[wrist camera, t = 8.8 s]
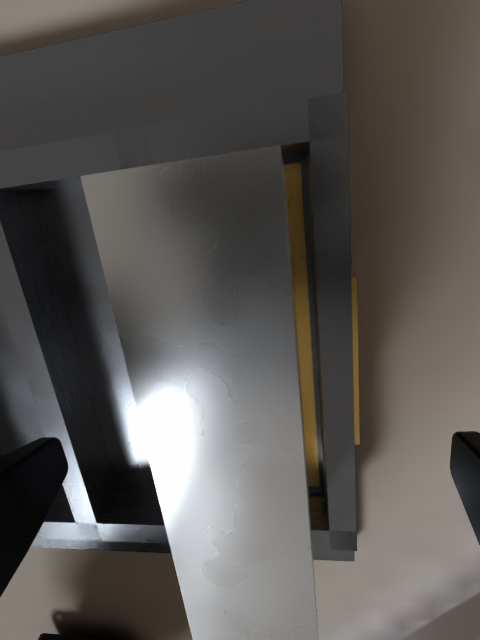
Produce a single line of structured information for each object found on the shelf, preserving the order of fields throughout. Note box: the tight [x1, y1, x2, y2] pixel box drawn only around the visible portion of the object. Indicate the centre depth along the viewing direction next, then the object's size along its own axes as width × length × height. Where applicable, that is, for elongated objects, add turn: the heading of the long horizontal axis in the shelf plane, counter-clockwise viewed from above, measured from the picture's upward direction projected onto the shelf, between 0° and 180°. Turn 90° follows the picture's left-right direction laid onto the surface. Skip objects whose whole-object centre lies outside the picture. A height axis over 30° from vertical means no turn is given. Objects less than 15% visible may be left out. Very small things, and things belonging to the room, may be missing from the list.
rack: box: [0, 0, 360, 561], centre depth 14 cm, size 22×18×3 cm
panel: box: [80, 145, 318, 640], centre depth 10 cm, size 12×3×7 cm, turn 7°
